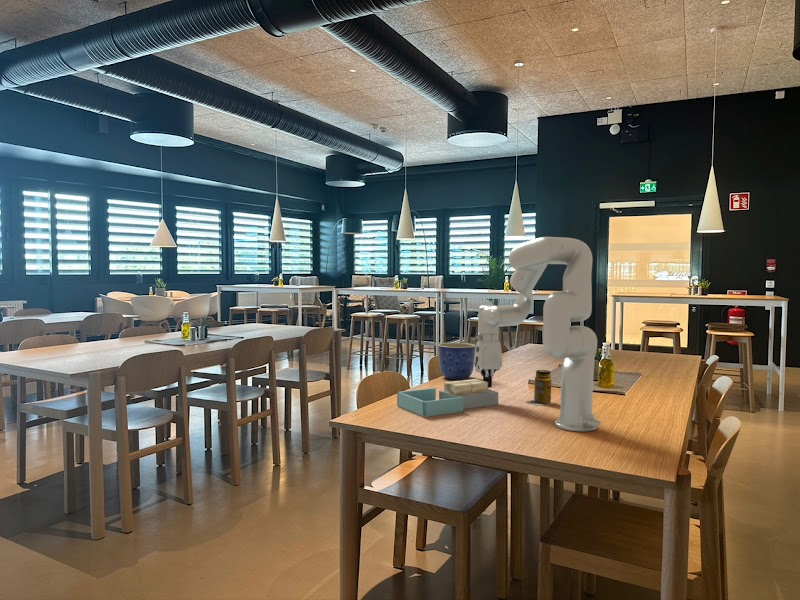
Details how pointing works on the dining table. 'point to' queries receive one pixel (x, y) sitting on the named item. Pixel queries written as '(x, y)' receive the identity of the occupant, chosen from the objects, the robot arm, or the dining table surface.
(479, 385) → the tile
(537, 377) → the condiment
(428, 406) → the tray
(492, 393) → the grey rectangular block
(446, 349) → the planter
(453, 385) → the tile
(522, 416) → the dining table surface
